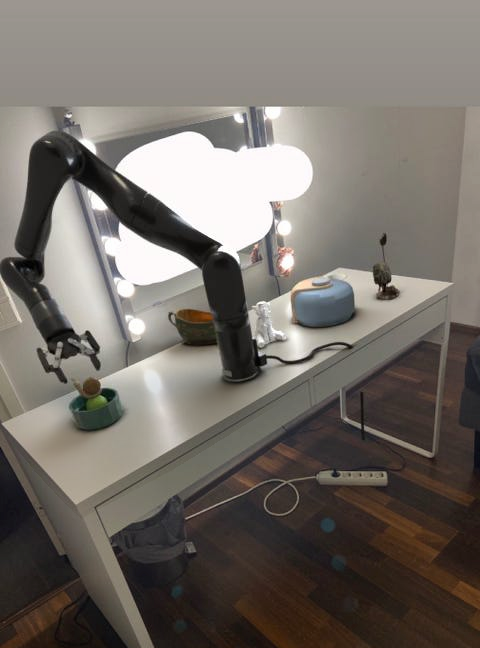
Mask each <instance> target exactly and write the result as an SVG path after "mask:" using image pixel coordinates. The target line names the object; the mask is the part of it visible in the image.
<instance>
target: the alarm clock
mask: <svg viewBox="0 0 480 648" xmlns="http://www.w3.org/2000/svg"><path fill="white" fill-rule="evenodd" d="M289 299H290V307H291V315H292V323H293V324H300V325H302V326H305V327H309V328H311V327H312V328H324V327H331V326H336V325H339V324H343V323H345V322H347V321H348V320H350V319H351V317H352V316H353V313H354V312H355V311H356V303H355V292H354V288H353V286H352V285H351V284H350V283H349V282H348V281H346V280H342V279H338V278H329V277H326V276H324V275H320V276H315V277H310V278H307V279H303V280H301V281H299V282H298V283H297V284H296V285H295V286H294V287H293V288H292V289H291V291H290V298H289Z"/></svg>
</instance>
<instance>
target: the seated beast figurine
mask: <svg viewBox="0 0 480 648" xmlns="http://www.w3.org/2000/svg"><path fill="white" fill-rule="evenodd" d="M250 308H251V309H252V310H253V311H255V315H256V316H257V318H256V321H255V329H254V337H255V339H256V342H257V348H258V349H259V348H260V349H263V348H264V347H265V346H267V345H268V344H270V343H273V342H277V341H283V342H284V341H285V340H286V338H287V336H286V334H285V333H283V332H282V331H281V330H276V329H274V328H273V325H272V324H273V323H272V320H271V318H270V314H271V312H272V310H271V308H270V302H268V303H267V302H266V301H259V302H257V303H256V305H251V306H250Z"/></svg>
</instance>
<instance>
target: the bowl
mask: <svg viewBox="0 0 480 648" xmlns="http://www.w3.org/2000/svg"><path fill="white" fill-rule="evenodd" d="M100 389H102V392H101V394H100V396H103V397H104V398H106V400H107V401H108V403H107V404H106V405H104V406H102V407H99V408H97V409H93V410H89V411H87V407H86V404H87V401H88V400H89V399H87V398H84V397H83V396H81V394H80V393H79V395H77V396H76V397H74V398H73V399H72V400H71V401H70V402H69V404H68V410H69V412H70V415H71V418H72V419H73V422H74V425H75V426H76V427H77V428H78V429H82V430H84V431H85V430H86V431H95V430H100V429H103V428H106V427H108V426H111V425H112V424H114V423H116V422H118V420H119V419H120V418H121V417H122V415H123V414H124V407H123V404H122V400H121V396H120V394H119V391H118V390H117V389H115V388H111V387H100Z"/></svg>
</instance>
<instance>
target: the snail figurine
mask: <svg viewBox="0 0 480 648" xmlns="http://www.w3.org/2000/svg"><path fill="white" fill-rule="evenodd" d="M70 381H72V383H73V386H74V388H75V389H76V390H77V392H78V394H79V395H80V394H81V396H83V397H84V398H87V399H89V400H88V401H87V404H86V407H87V411H89V410H93V409H97V408H99V407H102V406H104V405H106V404H107V403H108V401H107V400H106V398H104V397H103V396H100V394H101V392H102V389H100V388H102V387H101V386H102V385H101V381H100V380H99V379H98V378H96V377H88V378H86V379H85V380H84V381H83V382H82V387H81V384H80V382H79V381H75V378H73V377H71V380H70Z"/></svg>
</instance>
